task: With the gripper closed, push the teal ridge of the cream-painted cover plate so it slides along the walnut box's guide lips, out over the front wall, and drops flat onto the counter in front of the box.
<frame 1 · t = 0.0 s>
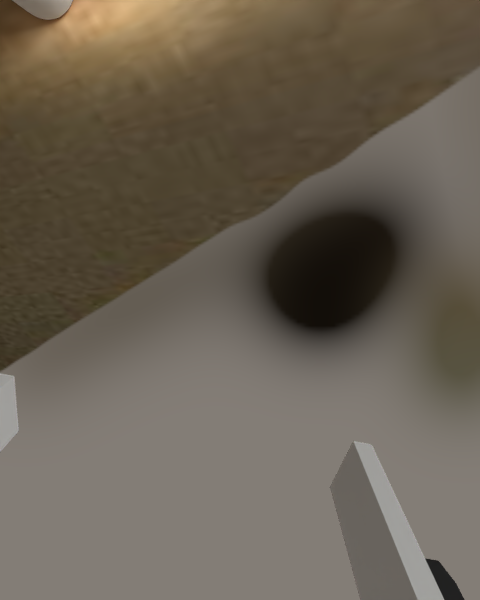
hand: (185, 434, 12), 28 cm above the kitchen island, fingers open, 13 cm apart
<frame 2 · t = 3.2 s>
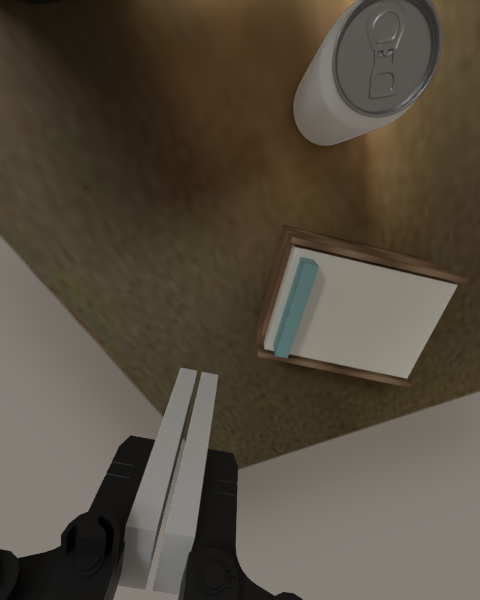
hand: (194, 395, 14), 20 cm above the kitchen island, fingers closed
lid: (351, 313, 29), point 5 cm above the kitchen island, touching box
can: (327, 106, 27), on the kitchen island
box: (337, 294, 33), on the kitchen island
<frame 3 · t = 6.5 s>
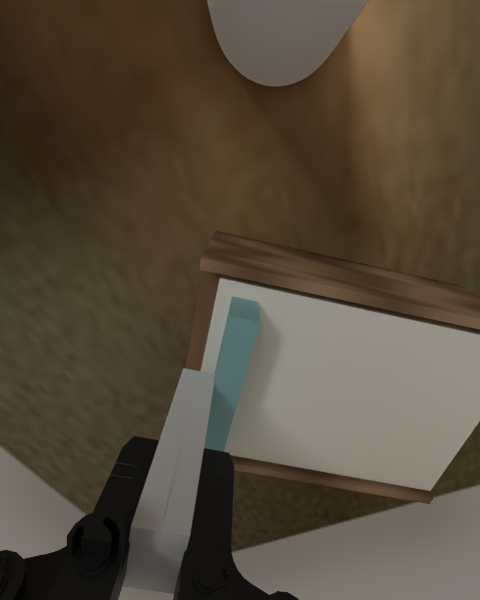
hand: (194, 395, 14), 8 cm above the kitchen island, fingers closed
lid: (335, 386, 17), point 5 cm above the kitchen island, touching gripper
can: (277, 11, 14), on the kitchen island
box: (310, 339, 21), on the kitchen island
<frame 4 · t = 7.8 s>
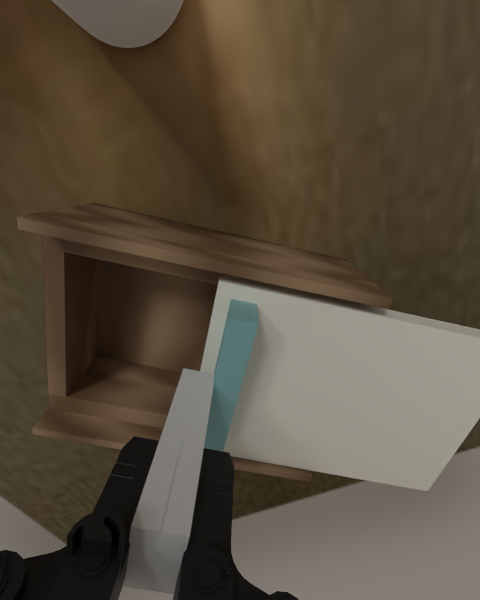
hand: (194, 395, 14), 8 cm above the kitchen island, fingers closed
lid: (333, 387, 17), point 5 cm above the kitchen island, touching box, gripper
box: (207, 317, 21), on the kitchen island
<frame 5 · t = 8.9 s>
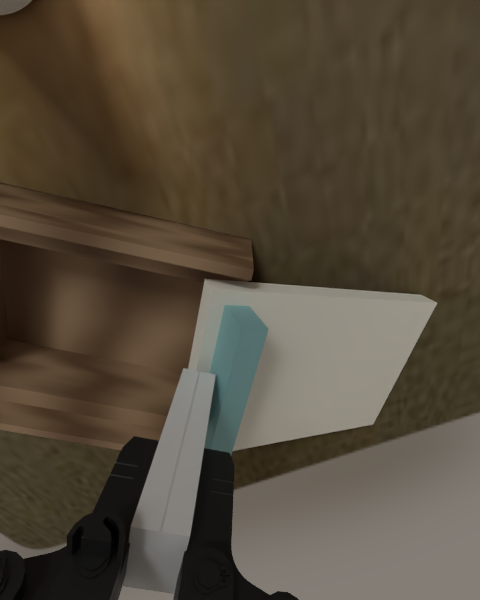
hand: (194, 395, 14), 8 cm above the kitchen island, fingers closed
lid: (305, 364, 18), point 3 cm above the kitchen island, tilted 23°
box: (117, 299, 20), on the kitchen island
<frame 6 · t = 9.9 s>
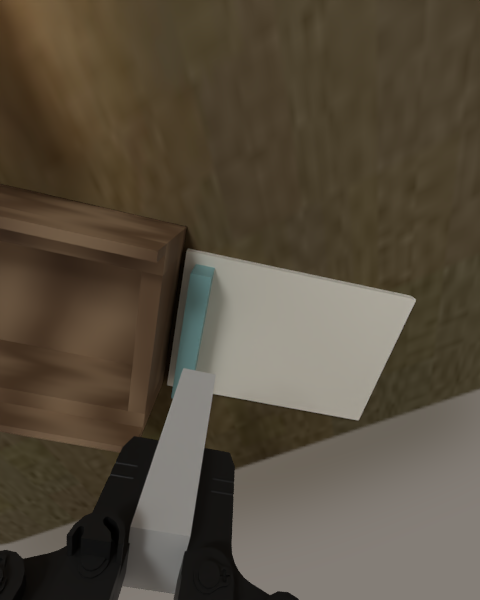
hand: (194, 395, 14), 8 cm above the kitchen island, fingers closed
lid: (280, 337, 22), on the kitchen island
box: (56, 288, 20), on the kitchen island
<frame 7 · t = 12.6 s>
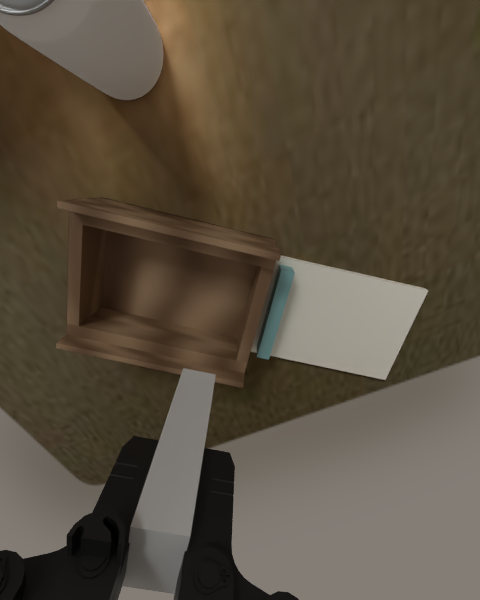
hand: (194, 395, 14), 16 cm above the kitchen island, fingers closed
lid: (330, 317, 31), on the kitchen island
can: (124, 53, 23), on the kitchen island
box: (179, 280, 29), on the kitchen island
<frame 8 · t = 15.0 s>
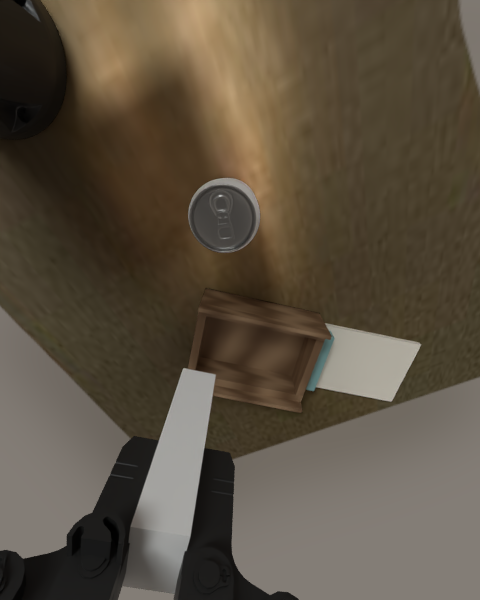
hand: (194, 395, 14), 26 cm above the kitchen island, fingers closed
lid: (354, 360, 44), on the kitchen island
can: (230, 206, 36), on the kitchen island
box: (252, 338, 43), on the kitchen island
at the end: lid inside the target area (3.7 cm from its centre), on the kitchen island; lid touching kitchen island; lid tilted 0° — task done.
